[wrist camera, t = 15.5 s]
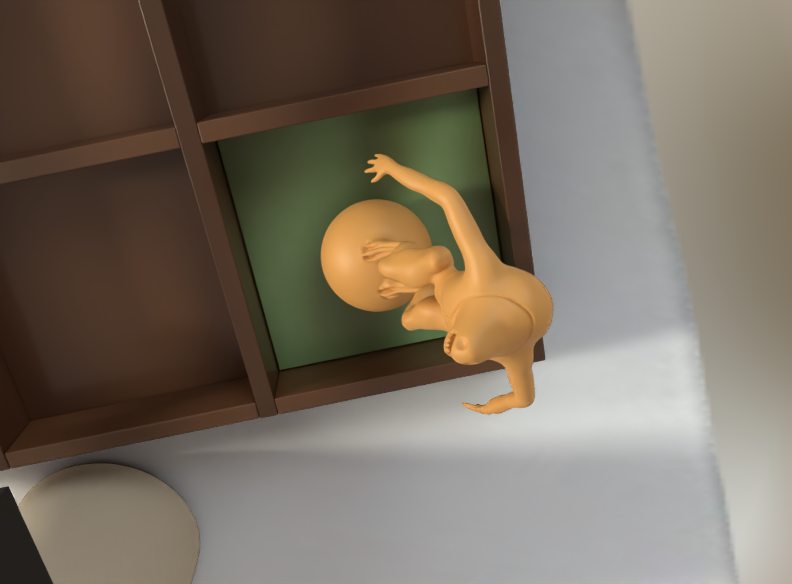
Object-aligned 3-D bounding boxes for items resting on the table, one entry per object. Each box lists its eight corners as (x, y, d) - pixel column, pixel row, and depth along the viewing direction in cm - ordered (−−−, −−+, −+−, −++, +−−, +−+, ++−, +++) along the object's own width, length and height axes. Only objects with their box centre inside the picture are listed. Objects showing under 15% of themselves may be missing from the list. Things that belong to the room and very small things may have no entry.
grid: (443, -281, 22) (458, -329, 20) (526, 328, 30) (545, 360, 27) (-222, -149, 22) (-306, -175, 19) (26, 430, 30) (-9, 473, 27)
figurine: (280, 159, 26) (234, 254, 15) (434, 95, 26) (508, 141, 14) (368, 350, 29) (386, 553, 17) (507, 295, 28) (618, 466, 17)
